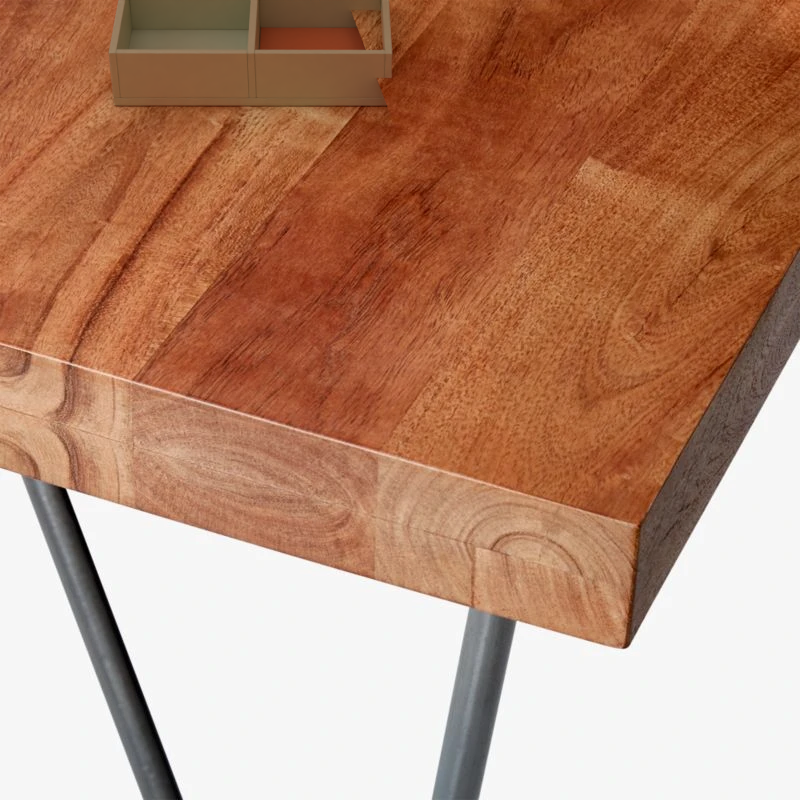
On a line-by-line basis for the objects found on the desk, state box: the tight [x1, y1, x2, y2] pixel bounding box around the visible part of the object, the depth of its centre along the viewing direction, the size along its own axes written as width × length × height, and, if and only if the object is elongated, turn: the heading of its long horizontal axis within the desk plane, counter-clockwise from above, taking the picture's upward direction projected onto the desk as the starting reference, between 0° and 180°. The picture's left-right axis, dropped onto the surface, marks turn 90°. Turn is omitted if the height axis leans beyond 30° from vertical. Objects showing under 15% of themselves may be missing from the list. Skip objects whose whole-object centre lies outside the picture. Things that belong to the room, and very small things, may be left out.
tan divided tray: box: [108, 0, 393, 107], centre depth 93 cm, size 15×8×3 cm, turn 92°
